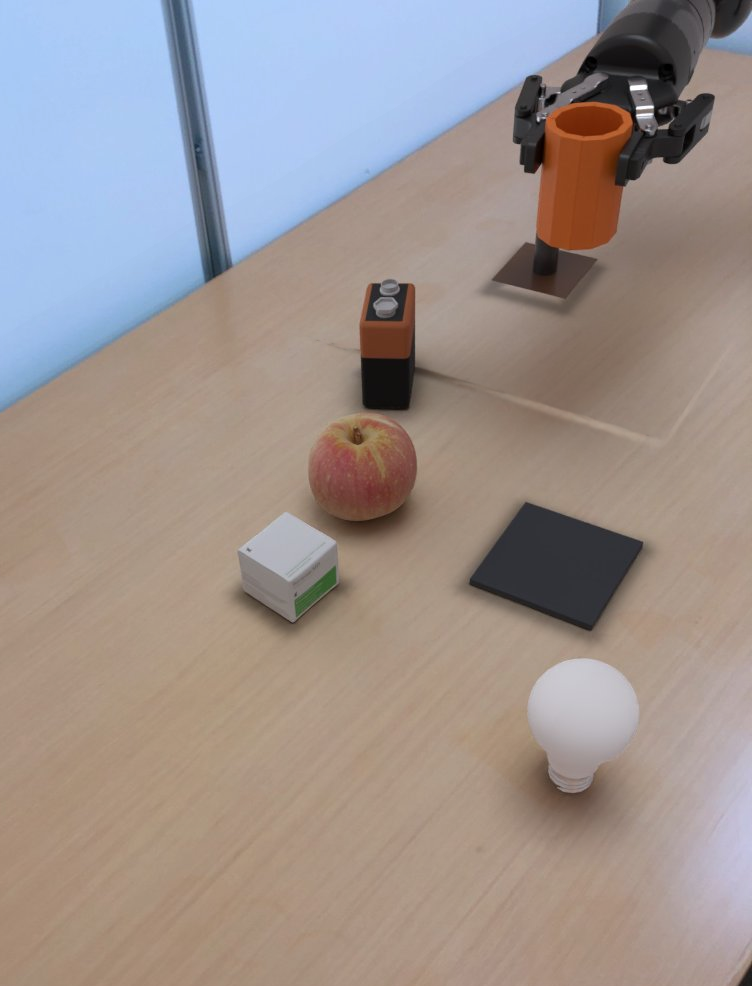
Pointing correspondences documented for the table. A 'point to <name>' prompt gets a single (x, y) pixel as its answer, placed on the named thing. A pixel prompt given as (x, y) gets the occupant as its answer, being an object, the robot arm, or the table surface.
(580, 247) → the tube
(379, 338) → the battery
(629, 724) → the light bulb
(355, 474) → the apple
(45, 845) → the table surface
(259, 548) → the small box
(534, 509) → the mat
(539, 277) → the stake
